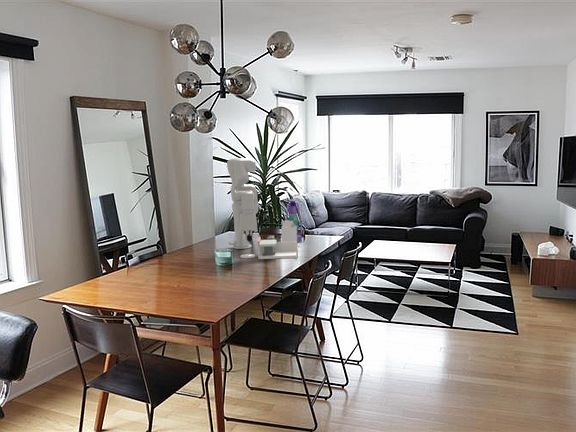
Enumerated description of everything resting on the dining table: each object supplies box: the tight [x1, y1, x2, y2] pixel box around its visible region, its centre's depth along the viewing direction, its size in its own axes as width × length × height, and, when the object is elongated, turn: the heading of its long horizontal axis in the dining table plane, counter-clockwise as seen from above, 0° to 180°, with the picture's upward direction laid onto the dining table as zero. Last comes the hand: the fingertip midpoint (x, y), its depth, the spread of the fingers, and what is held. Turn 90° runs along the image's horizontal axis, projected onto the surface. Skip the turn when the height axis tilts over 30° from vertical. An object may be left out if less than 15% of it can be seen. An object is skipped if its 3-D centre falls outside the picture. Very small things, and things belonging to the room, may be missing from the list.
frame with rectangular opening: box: [257, 241, 299, 260], centre depth 351 cm, size 24×15×7 cm, turn 90°
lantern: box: [285, 198, 303, 243], centre depth 397 cm, size 13×12×30 cm
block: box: [263, 246, 274, 256], centre depth 351 cm, size 5×5×7 cm
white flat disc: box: [240, 253, 256, 260], centre depth 352 cm, size 9×9×1 cm
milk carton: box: [280, 219, 298, 242], centre depth 370 cm, size 7×7×19 cm
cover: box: [257, 236, 278, 248], centre depth 351 cm, size 11×15×3 cm
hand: (249, 241), depth 350 cm, fingers closed
